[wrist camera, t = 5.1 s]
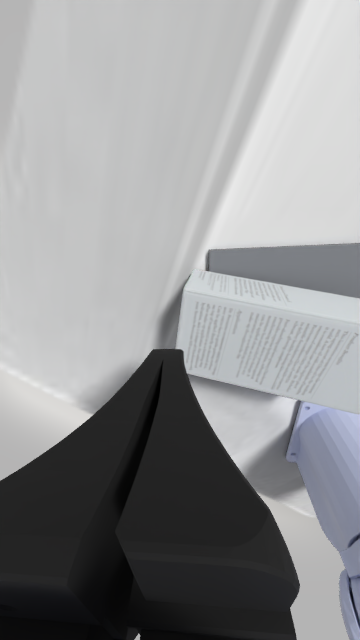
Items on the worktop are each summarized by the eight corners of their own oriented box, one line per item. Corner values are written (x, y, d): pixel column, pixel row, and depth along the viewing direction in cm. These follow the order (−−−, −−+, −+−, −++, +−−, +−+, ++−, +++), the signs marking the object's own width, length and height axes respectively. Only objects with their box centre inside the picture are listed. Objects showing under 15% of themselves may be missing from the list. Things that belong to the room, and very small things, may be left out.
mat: (343, 335, 18) (346, 338, 17) (208, 337, 18) (208, 340, 18) (375, 242, 14) (379, 243, 14) (209, 249, 15) (209, 250, 15)
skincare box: (182, 336, 19) (334, 371, 17) (170, 371, 15) (361, 419, 14) (194, 264, 16) (381, 300, 14) (182, 286, 12) (431, 337, 10)
